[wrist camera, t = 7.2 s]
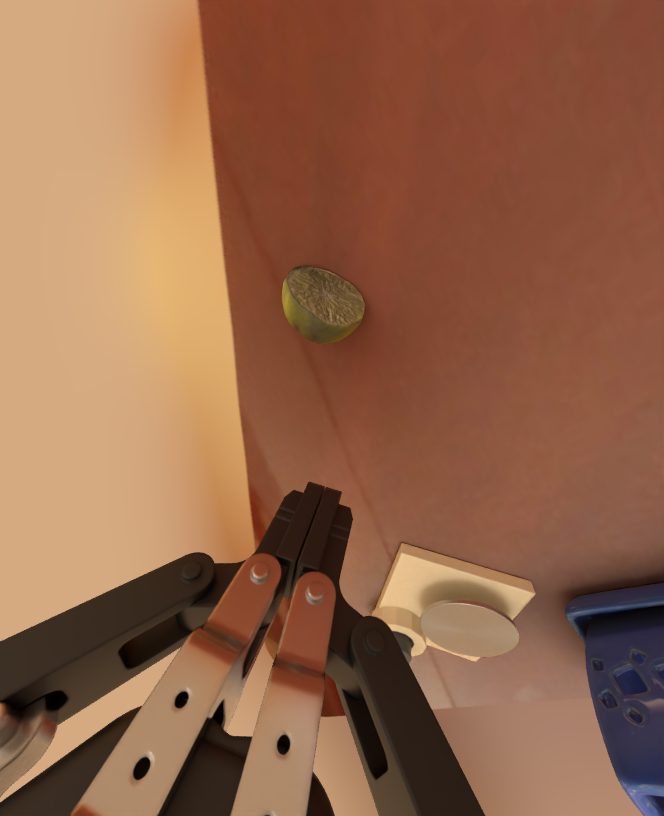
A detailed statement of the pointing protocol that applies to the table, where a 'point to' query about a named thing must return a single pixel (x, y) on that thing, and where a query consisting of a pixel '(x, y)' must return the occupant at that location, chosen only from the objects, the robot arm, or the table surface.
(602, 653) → the flower pot
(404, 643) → the tare button
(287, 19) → the table surface
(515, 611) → the scale
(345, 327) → the lime
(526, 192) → the table surface
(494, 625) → the weighing plate
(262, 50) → the table surface
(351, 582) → the table surface
